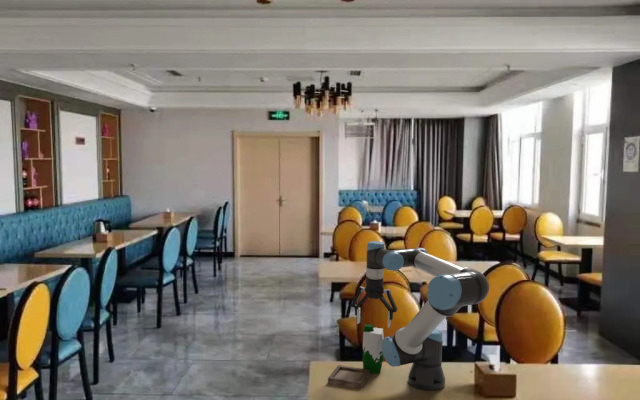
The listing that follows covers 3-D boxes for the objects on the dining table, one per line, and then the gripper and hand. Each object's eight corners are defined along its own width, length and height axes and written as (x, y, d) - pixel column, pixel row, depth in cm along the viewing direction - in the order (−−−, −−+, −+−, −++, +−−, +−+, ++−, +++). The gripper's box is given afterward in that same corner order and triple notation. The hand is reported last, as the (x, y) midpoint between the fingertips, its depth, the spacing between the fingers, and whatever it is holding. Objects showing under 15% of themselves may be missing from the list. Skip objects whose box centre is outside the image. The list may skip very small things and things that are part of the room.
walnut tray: (369, 375, 227) (369, 369, 227) (360, 389, 214) (360, 383, 213) (338, 370, 231) (338, 365, 231) (327, 383, 218) (328, 377, 218)
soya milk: (363, 365, 238) (364, 321, 236) (383, 367, 236) (385, 323, 234) (361, 373, 229) (362, 328, 227) (382, 375, 227) (383, 330, 225)
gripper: (405, 278, 228) (403, 325, 230) (349, 272, 236) (348, 318, 238) (401, 282, 221) (400, 331, 223) (344, 276, 229) (343, 323, 231)
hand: (373, 325), depth 231 cm, fingers open, 13 cm apart
